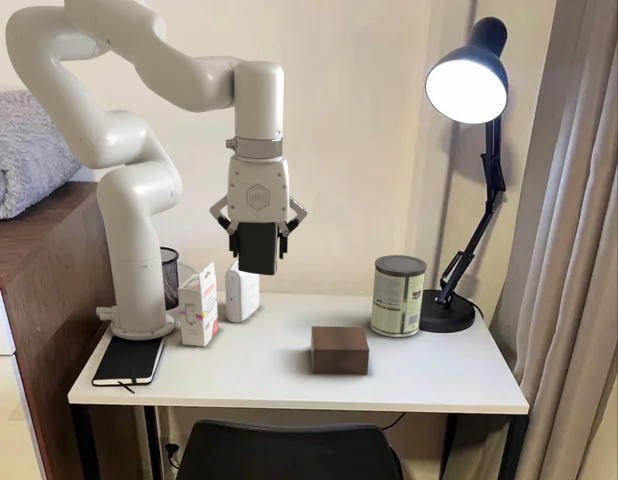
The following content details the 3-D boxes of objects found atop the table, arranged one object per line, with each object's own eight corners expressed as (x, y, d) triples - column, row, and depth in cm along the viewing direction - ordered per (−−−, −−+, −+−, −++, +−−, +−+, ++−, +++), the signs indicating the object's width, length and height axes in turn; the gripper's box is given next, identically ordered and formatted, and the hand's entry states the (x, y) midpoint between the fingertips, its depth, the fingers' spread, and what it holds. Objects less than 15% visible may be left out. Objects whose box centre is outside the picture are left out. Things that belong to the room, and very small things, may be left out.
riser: (312, 373, 121) (313, 349, 118) (310, 349, 129) (311, 326, 127) (367, 374, 121) (369, 349, 119) (361, 350, 130) (363, 326, 127)
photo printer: (242, 324, 139) (241, 267, 132) (223, 321, 140) (221, 264, 134) (262, 307, 147) (261, 252, 141) (244, 304, 148) (243, 250, 142)
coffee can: (377, 314, 145) (383, 251, 138) (423, 322, 142) (432, 259, 135) (363, 332, 137) (368, 266, 130) (411, 341, 134) (419, 274, 127)
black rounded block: (281, 270, 117) (282, 205, 111) (274, 277, 114) (275, 210, 108) (244, 265, 118) (243, 200, 113) (236, 272, 115) (235, 205, 109)
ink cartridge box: (195, 327, 137) (191, 258, 129) (218, 329, 136) (216, 260, 129) (180, 344, 130) (175, 272, 122) (204, 347, 129) (201, 275, 121)
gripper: (201, 150, 102) (205, 261, 111) (314, 155, 103) (309, 265, 112) (206, 142, 108) (210, 247, 117) (312, 146, 109) (308, 250, 118)
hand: (258, 255), depth 115 cm, fingers closed on black rounded block, 7 cm apart
